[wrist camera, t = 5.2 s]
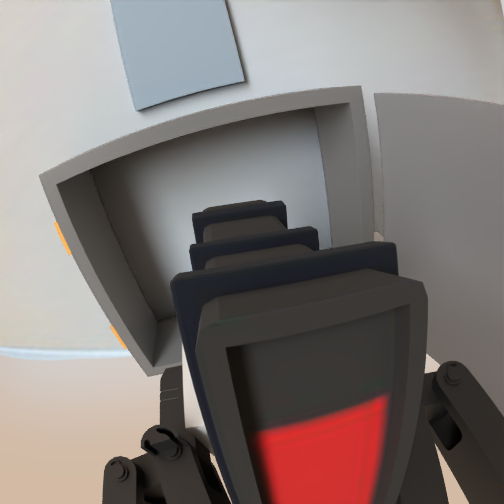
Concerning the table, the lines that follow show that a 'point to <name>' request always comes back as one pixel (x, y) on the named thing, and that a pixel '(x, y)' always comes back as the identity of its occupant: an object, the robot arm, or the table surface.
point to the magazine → (301, 358)
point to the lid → (449, 221)
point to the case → (78, 168)
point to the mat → (175, 48)
